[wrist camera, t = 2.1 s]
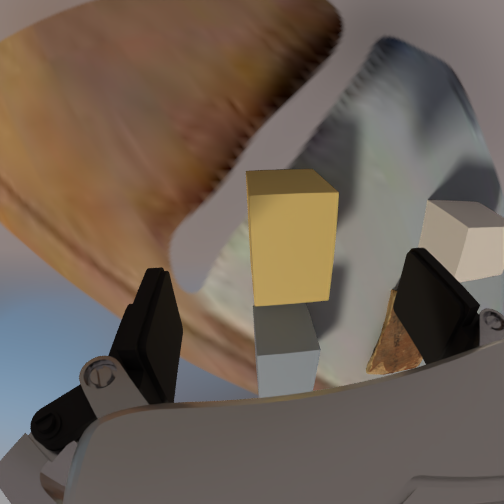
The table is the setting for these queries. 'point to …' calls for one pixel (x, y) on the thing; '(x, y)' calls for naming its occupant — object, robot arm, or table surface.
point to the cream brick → (464, 238)
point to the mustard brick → (291, 235)
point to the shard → (393, 346)
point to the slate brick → (285, 349)
